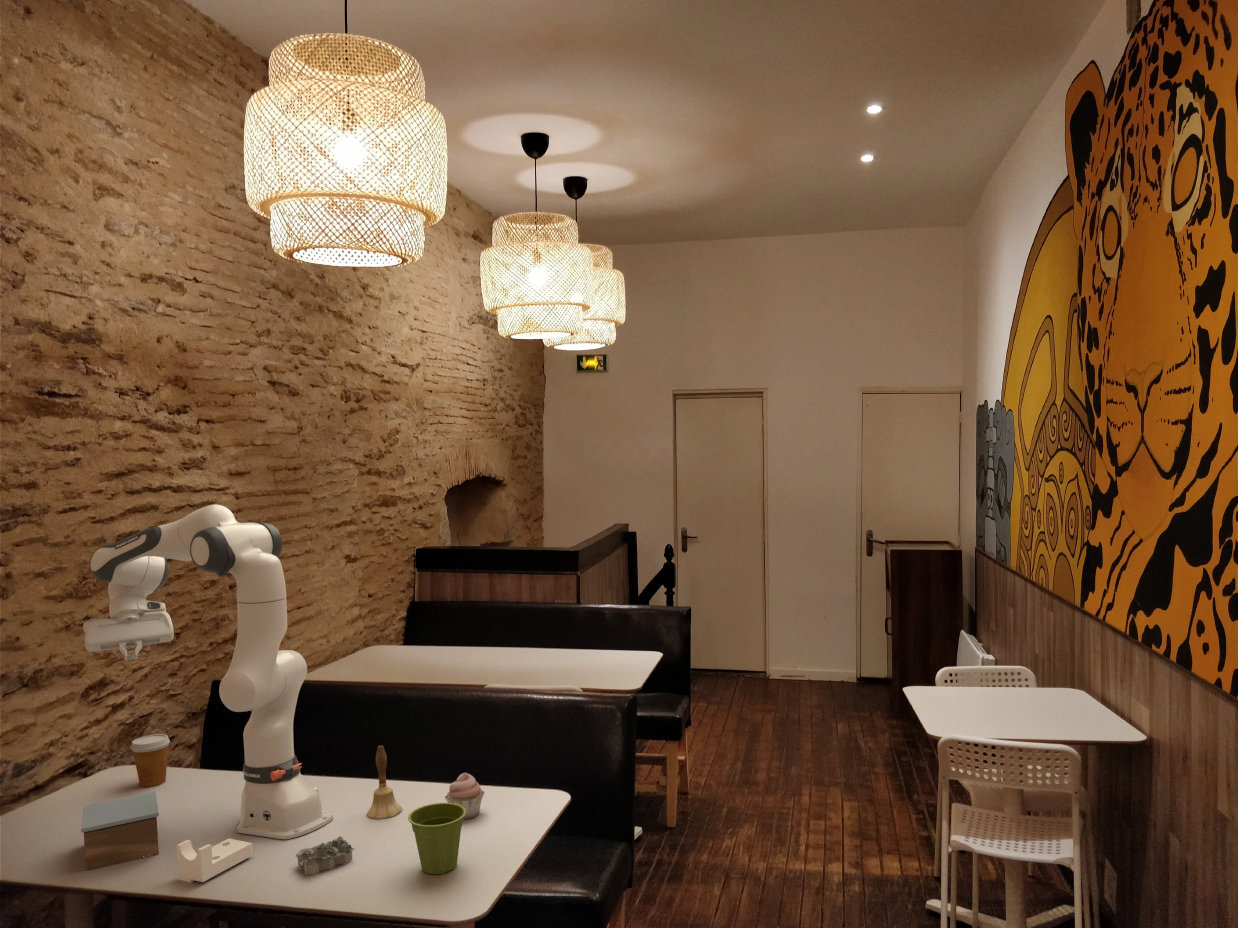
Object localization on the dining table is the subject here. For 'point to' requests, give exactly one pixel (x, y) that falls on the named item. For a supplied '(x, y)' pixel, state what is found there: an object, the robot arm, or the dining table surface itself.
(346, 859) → the egg carton
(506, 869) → the dining table surface
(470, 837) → the dining table surface
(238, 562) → the robot arm
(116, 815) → the lid
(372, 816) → the hand bell
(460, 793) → the cupcake
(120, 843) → the box
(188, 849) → the bracket
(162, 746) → the disposable coffee cup
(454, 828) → the plant pot
